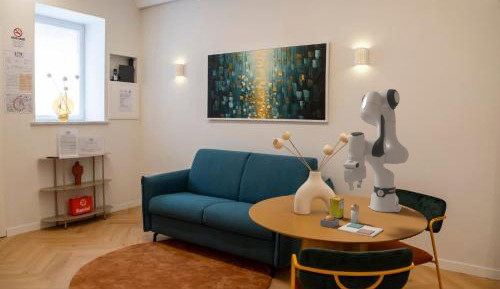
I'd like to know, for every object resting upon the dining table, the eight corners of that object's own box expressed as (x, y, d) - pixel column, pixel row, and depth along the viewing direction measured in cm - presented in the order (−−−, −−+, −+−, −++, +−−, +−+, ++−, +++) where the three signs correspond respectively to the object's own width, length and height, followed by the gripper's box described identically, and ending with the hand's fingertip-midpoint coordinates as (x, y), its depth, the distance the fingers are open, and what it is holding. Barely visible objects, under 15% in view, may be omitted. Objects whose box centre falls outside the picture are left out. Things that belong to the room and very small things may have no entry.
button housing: (326, 222, 212) (326, 216, 212) (338, 224, 208) (338, 219, 207) (320, 225, 207) (320, 219, 206) (332, 227, 202) (332, 222, 202)
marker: (352, 220, 215) (352, 202, 214) (359, 222, 213) (360, 204, 212) (349, 222, 212) (349, 204, 211) (356, 224, 209) (357, 205, 209)
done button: (327, 220, 210) (328, 215, 210) (334, 222, 207) (335, 216, 207) (324, 222, 207) (324, 216, 206) (331, 223, 204) (331, 218, 204)
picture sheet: (349, 223, 210) (349, 222, 210) (383, 230, 199) (383, 228, 199) (337, 229, 199) (337, 228, 199) (372, 237, 188) (372, 235, 188)
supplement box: (334, 215, 226) (334, 196, 225) (343, 217, 222) (344, 198, 222) (329, 217, 222) (329, 198, 221) (338, 219, 218) (339, 199, 217)
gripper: (358, 160, 220) (357, 185, 221) (342, 164, 204) (341, 191, 205) (369, 161, 216) (368, 186, 217) (353, 165, 200) (352, 192, 201)
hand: (355, 189), depth 211 cm, fingers open, 8 cm apart
